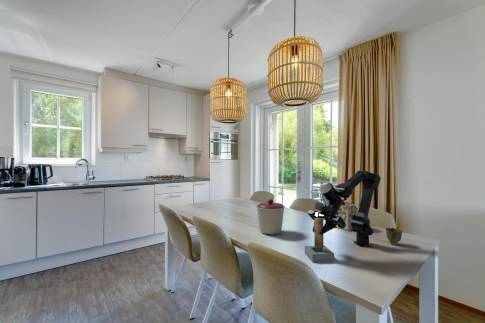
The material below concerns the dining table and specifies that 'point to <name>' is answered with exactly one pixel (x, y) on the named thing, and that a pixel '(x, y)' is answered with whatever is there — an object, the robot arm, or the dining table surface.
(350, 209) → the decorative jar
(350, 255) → the dining table surface
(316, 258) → the socket block
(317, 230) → the walnut dowel
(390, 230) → the cup
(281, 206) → the canister
